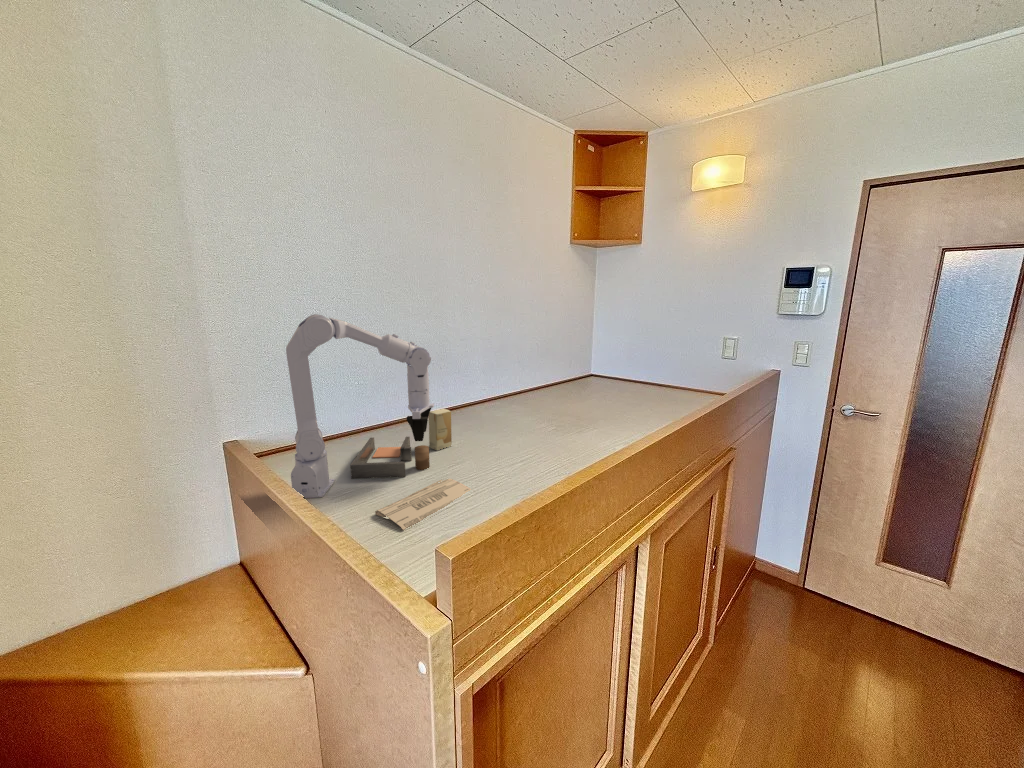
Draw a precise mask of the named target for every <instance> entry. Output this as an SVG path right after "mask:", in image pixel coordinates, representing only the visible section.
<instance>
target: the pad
mask: <svg viewBox="0 0 1024 768" xmlns="http://www.w3.org/2000/svg"><path fill="white" fill-rule="evenodd" d="M400 448H401V446H386V447H385V446H383V447H380V446H379V447H378V448H377V449H375V451H374V452H375V453H374V454H372V455H373V456H372V457H371V458H372V459H386V458H387V459H390V458H394V459H395V458H401V453H400Z"/></svg>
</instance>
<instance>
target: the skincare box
mask: <svg viewBox="0 0 1024 768" xmlns="http://www.w3.org/2000/svg"><path fill="white" fill-rule="evenodd" d="M452 438H453V437H452V411H451V410H449V409H446V408H441V409H436V410H432V411H431V410H430V413H429V416H428V439H429V440H428V441H429V442H428V443H429V444H428V445H429V446H428V447H429V449H433V450H435V451H440V449H441V450H444V449H446V447H447V448H449V446H450V447H452V446H451V445H453V444H452V442H453V441H452ZM443 448H444V449H443Z"/></svg>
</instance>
